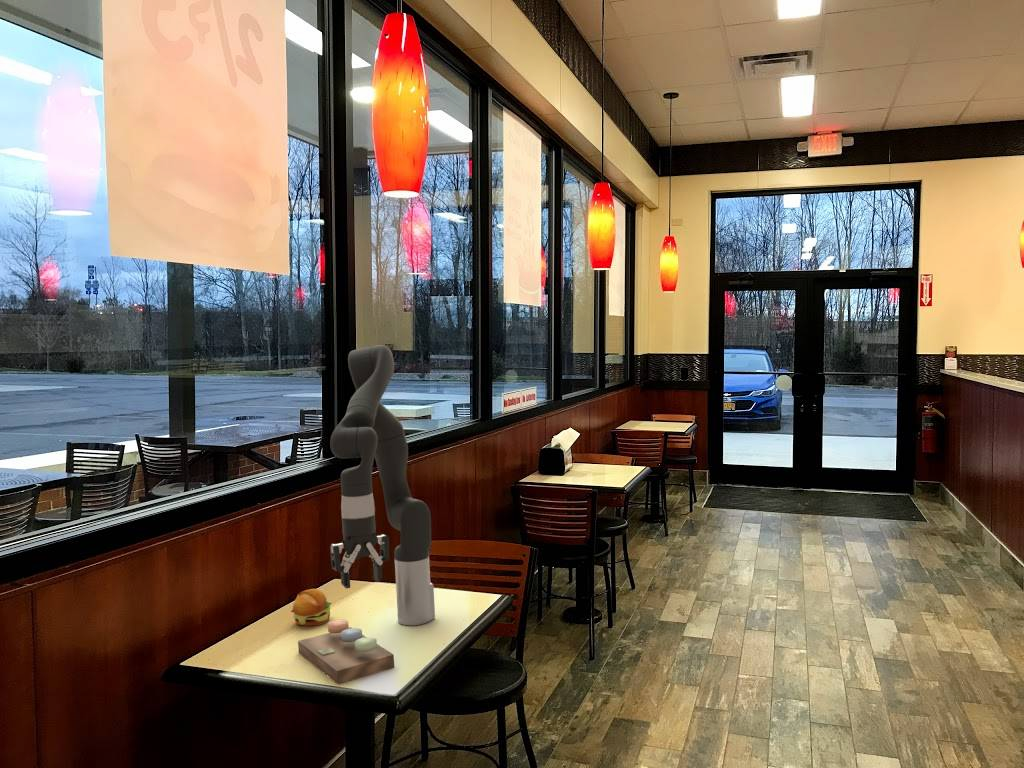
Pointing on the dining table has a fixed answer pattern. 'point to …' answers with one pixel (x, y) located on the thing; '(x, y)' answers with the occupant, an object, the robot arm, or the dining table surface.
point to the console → (343, 657)
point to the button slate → (351, 635)
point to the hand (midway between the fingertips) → (362, 583)
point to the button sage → (365, 644)
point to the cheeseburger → (311, 608)
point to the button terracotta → (337, 626)
